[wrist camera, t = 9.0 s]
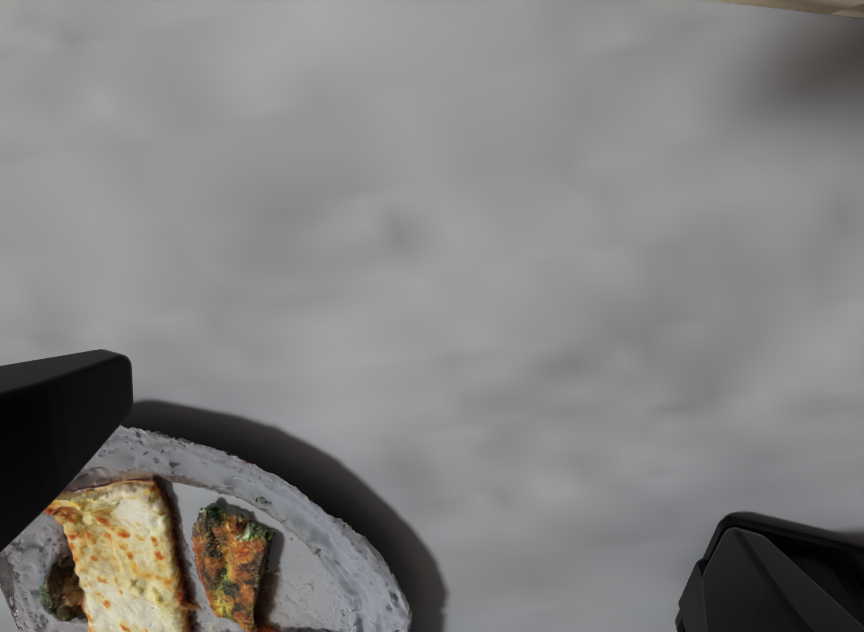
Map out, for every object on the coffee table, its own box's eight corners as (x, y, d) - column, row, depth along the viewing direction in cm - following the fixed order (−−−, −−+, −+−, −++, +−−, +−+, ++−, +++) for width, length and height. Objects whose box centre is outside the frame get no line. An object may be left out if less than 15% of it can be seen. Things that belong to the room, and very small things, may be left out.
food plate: (393, 797, 33) (375, 870, 30) (66, 690, 37) (19, 745, 34) (438, 463, 24) (420, 515, 21) (-1, 364, 28) (-74, 397, 25)
